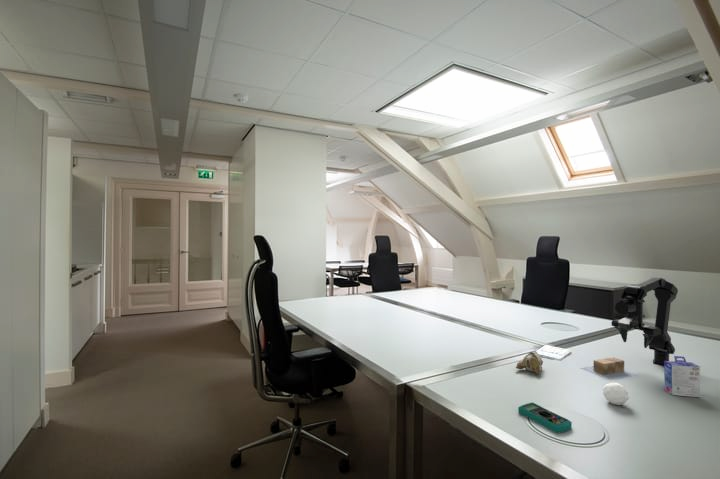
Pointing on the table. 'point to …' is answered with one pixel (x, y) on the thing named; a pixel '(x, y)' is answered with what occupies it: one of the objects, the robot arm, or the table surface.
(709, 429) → the table surface
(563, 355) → the calculator
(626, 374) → the desk pad
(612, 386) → the geometric ball
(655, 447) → the table surface
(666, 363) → the ink cartridge box
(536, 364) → the ceramic sculpture
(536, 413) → the digital multimeter
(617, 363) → the walnut block
